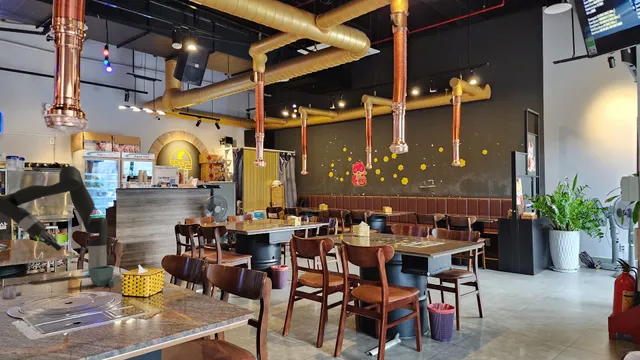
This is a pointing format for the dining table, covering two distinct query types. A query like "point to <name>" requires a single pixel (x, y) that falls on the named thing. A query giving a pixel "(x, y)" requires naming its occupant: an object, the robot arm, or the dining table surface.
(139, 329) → the dining table surface
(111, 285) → the bumper bar
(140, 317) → the dining table surface
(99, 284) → the flower pot
